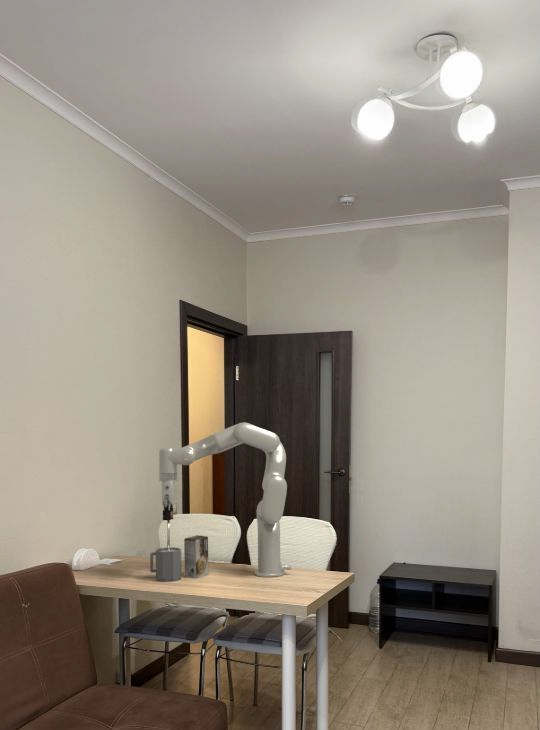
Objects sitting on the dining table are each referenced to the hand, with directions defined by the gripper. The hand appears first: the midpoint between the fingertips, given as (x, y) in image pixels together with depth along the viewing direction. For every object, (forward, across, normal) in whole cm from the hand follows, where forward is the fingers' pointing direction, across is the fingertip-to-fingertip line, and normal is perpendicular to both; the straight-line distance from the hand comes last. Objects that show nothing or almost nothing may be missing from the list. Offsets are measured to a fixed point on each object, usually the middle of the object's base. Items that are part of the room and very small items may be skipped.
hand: (168, 518), depth 290 cm
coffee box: (+25, +5, -11) cm, 28 cm away
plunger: (+14, 0, 0) cm, 14 cm away
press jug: (+25, 0, +1) cm, 25 cm away
